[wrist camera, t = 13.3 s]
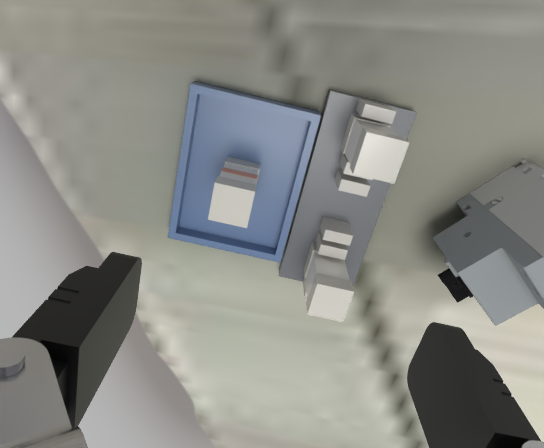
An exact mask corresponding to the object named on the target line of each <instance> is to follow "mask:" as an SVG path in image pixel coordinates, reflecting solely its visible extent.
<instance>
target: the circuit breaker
mask: <svg viewBox="0 0 544 448" xmlns="http://www.w3.org/2000/svg"><path fill="white" fill-rule="evenodd" d="M520 162H521V163H522V164H521V165H519V166H518V167H516V168H515V167H513V166H512V167H510V168H509V169H507V170H505V171H504V172H502V173H501V174H499V175H498V176H496V177H494V178H493V179H491V180H490V181H488V182H487V183H485V184H484V185H482V186H480V187H479V188H477V189H476V190H474V191H473V192H471V193H470V194H468V195H466V196H465V197H463V198H462V199H460V200H458V201H457V202H456V203H457V204H458V205H459V207H460V208H461V210H462V211H463V213H464V214H465V216H466V217H465V218H463V219H461V220H460V221H458V222H457V223H455V224H453V225H452V226H450V227H449V228H447V229H445V230H444V231H442V232H441V233H439V234H437V235H436V236H434V237H433V240H434V241H435V243H436V244H437V245H438V247H439V248H440V250H441V251H442V252H443V254H444V255H445V257H446V259H444V261H445V263H446V264H447V266H448V267H449V269H447V270H445V271H444V272H442V273H440V274H439V275H438V276H439V278H440V279H441V281H442V282H443V283H444V284H445V285H446V287H447V288H448V289H449V291H450V292H451V294H452V296H453V297H454V298H455V300H456V301H457V302H459V301H461V300H463V299H465V298H466V297H468V296H469V297H470V298H471V297H473V296H474V297H475V298H476V300H477V301H478V303H479V304H480V305H481V307H482V308H483V310H484V311H485V312H486V314H487V315H488V317H489V318H490V319H491V321H492V322H493V323H494V325H498V324H500V323H502V322H504V321H506V320H508V319H510V318H511V317H513V316H515V315H517V314H519V313H521V312H523V311H525V310H527V309H528V308H530V307H532V306H534V305H536V304H540V305H541V306H542V307H543V308H544V169H543V168H541V167H539V166H537V165H535V164H533V163H530V164H529V163H528V162H527V161H526V160H525V159H523V160H521V161H520ZM531 169H532V170H531Z"/></svg>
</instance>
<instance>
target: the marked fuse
mask: <svg viewBox="0 0 544 448" xmlns="http://www.w3.org/2000/svg"><path fill="white" fill-rule="evenodd" d="M260 165H261V164H258V163H254V162H250V161H245V160H241V159H237V158H232V157H228V156H227V158H226V160H225V164H224V167H223V168H222V170H221V173H220V176H218V177H217V179H216V181H215V183H214V189H213V194H212V200H211V205H210V211H209V216H208V220H212V221H216V222H221V223H225V224H230V225H234V226H239V227H243V228H247V226H248V221H249V217H250V213H251V208H252V204H253V199H254V195H255V190H256V183H257V179H258V174H259V170H260Z"/></svg>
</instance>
